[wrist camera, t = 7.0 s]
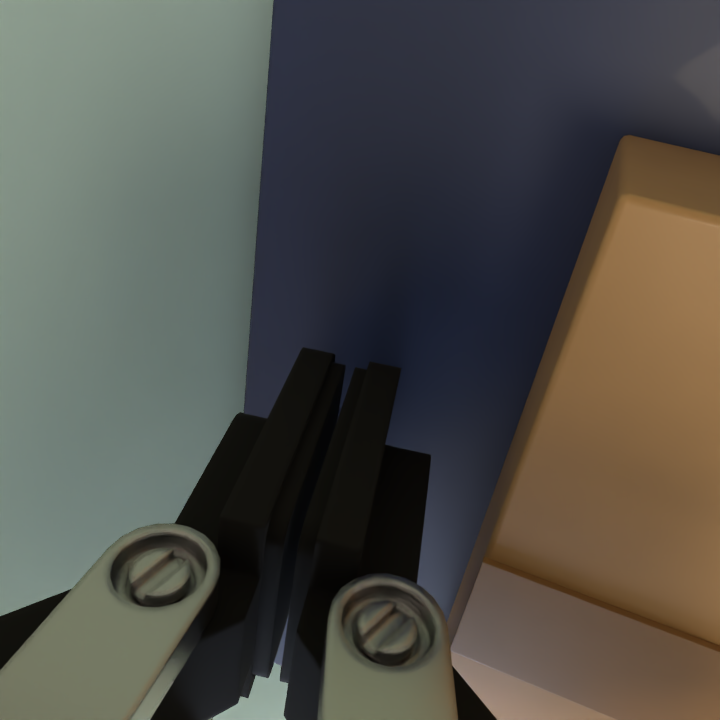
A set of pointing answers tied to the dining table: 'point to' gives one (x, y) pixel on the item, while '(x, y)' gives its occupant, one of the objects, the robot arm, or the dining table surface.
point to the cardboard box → (613, 474)
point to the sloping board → (452, 205)
